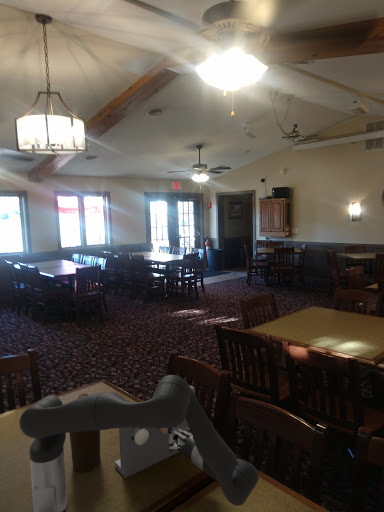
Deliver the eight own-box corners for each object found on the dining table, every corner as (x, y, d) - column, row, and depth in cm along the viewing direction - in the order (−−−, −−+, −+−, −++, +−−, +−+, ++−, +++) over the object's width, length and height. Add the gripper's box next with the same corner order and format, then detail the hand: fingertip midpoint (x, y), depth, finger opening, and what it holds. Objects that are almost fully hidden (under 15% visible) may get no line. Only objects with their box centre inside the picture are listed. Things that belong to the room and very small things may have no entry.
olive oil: (88, 477, 122) (84, 405, 120) (64, 469, 126) (60, 399, 124) (108, 458, 131) (105, 391, 129) (84, 451, 136) (81, 386, 133)
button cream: (149, 441, 121) (148, 427, 121) (135, 447, 118) (135, 432, 118) (139, 432, 126) (138, 419, 126) (126, 438, 123) (125, 424, 123)
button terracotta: (173, 430, 127) (173, 416, 127) (161, 435, 124) (161, 421, 124) (163, 422, 132) (162, 409, 132) (151, 427, 129) (151, 414, 129)
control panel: (196, 443, 139) (194, 387, 137) (125, 478, 120) (122, 414, 119) (184, 434, 145) (182, 381, 143) (115, 466, 126) (112, 405, 125)
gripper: (217, 433, 114) (185, 411, 128) (183, 449, 106) (152, 424, 120) (218, 455, 115) (185, 431, 129) (184, 473, 107) (153, 446, 121)
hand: (169, 428), depth 124 cm, fingers closed
